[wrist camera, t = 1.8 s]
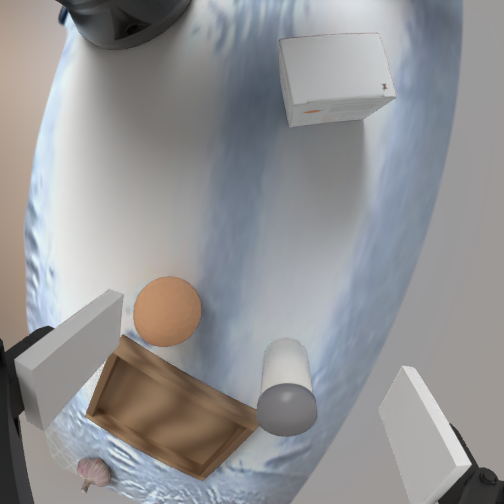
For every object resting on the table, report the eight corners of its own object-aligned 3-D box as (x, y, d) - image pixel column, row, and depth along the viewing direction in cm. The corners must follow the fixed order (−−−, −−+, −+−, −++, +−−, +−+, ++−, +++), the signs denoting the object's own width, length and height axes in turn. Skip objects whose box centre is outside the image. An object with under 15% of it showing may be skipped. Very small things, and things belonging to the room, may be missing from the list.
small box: (353, 71, 29) (382, 31, 18) (364, 120, 30) (399, 98, 19) (278, 78, 29) (277, 36, 19) (287, 128, 31) (292, 106, 20)
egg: (221, 298, 35) (203, 337, 26) (182, 333, 37) (156, 375, 28) (178, 255, 34) (146, 281, 26) (141, 292, 36) (105, 325, 27)
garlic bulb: (101, 452, 44) (83, 482, 36) (123, 477, 45) (109, 507, 38) (75, 451, 45) (57, 478, 37) (96, 476, 47) (81, 502, 39)
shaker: (253, 362, 37) (245, 422, 26) (279, 328, 35) (278, 384, 25) (291, 382, 37) (294, 443, 27) (318, 350, 36) (329, 408, 25)
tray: (93, 405, 41) (84, 416, 38) (123, 334, 37) (113, 345, 34) (206, 467, 42) (202, 481, 39) (259, 411, 38) (258, 426, 35)
